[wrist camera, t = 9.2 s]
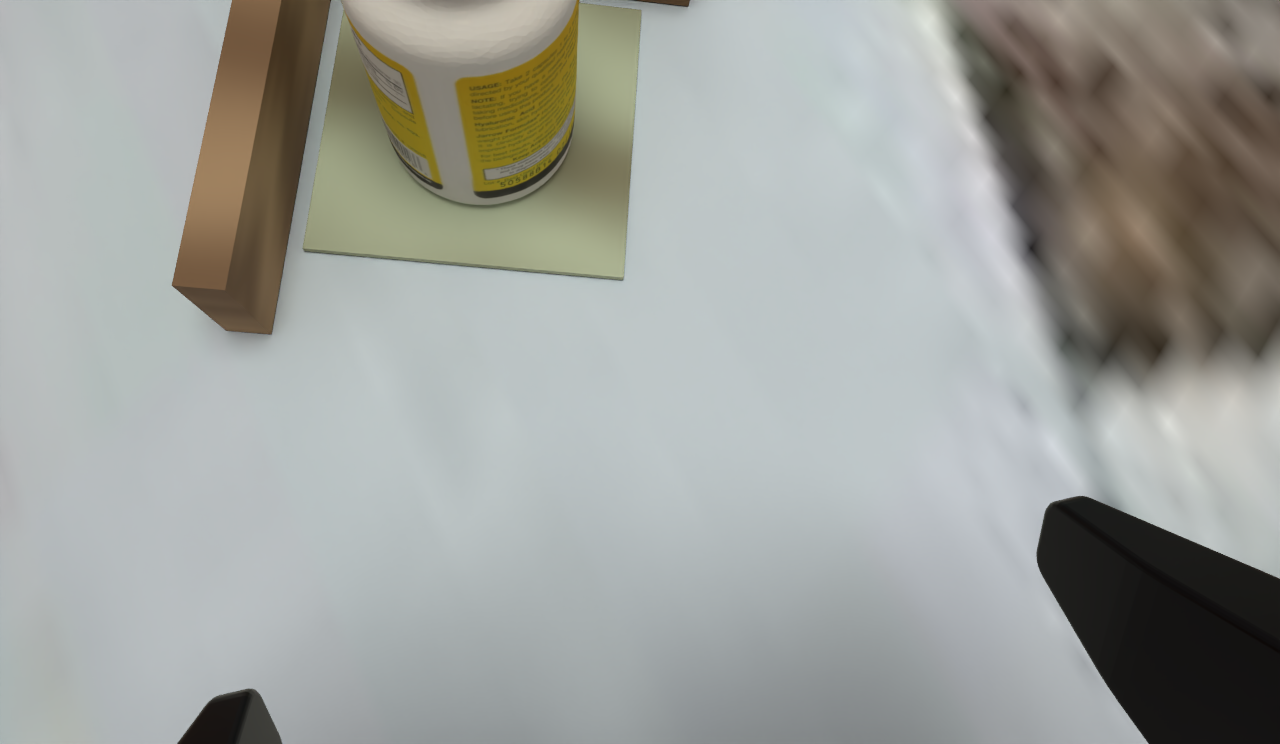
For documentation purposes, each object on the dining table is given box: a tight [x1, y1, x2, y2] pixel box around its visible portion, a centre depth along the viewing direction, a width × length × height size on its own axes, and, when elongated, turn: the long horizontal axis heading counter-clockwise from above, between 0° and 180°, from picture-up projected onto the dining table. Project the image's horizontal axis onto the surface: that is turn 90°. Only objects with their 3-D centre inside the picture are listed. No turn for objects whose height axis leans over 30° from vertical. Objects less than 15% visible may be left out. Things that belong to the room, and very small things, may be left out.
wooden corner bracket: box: [172, 0, 690, 334], centre depth 24 cm, size 13×14×4 cm
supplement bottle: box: [341, 0, 579, 205], centre depth 21 cm, size 5×5×10 cm
